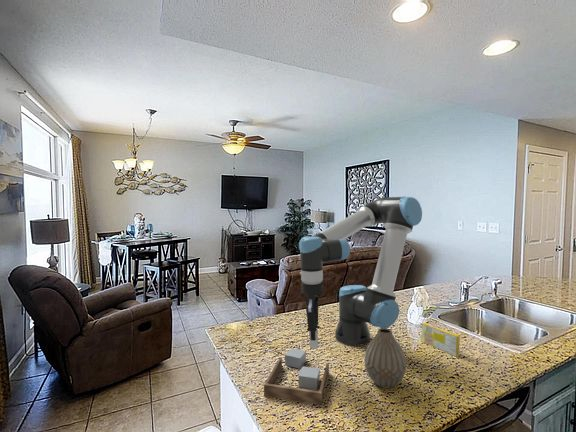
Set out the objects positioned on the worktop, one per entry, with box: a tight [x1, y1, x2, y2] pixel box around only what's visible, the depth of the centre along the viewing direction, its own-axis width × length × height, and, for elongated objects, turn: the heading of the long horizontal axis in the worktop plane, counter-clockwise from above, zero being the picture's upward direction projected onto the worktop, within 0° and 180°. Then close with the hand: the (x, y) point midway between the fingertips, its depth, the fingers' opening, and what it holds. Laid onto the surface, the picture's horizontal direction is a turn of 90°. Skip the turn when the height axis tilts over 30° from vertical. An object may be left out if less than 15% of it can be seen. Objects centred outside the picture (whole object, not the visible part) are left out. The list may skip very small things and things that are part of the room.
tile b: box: [284, 347, 307, 369], centre depth 115 cm, size 6×6×4 cm
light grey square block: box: [298, 365, 321, 391], centre depth 102 cm, size 6×6×4 cm
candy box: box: [421, 322, 461, 358], centre depth 127 cm, size 16×2×8 cm, turn 28°
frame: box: [263, 356, 330, 406], centre depth 102 cm, size 18×18×4 cm
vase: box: [363, 328, 407, 389], centre depth 102 cm, size 13×13×18 cm
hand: (313, 347), depth 109 cm, fingers closed
